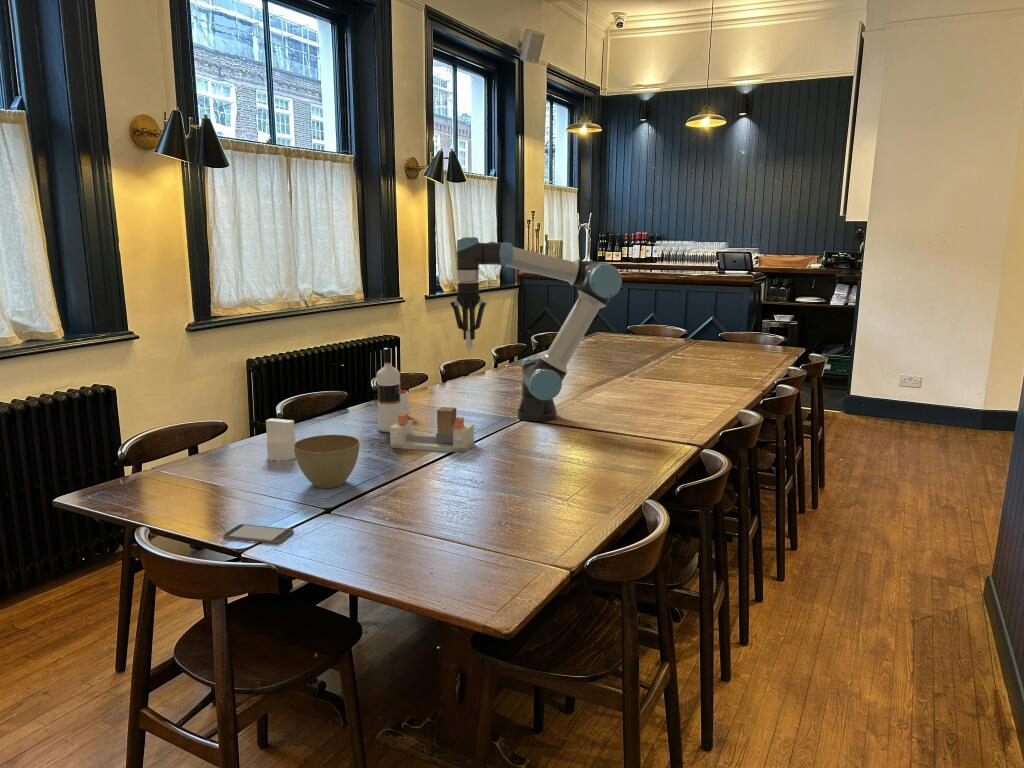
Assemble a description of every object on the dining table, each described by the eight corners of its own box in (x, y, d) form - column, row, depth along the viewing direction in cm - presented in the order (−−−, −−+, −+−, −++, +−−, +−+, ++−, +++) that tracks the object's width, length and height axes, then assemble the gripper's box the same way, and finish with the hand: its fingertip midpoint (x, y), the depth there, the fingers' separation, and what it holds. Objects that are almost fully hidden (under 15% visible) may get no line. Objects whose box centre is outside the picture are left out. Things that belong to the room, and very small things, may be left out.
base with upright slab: (302, 454, 238) (300, 418, 235) (285, 462, 230) (283, 425, 227) (279, 451, 241) (276, 416, 238) (261, 459, 232) (258, 422, 230)
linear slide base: (474, 444, 247) (473, 415, 245) (464, 453, 238) (464, 423, 236) (402, 439, 254) (401, 411, 252) (390, 447, 244) (389, 418, 242)
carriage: (458, 439, 246) (457, 407, 244) (453, 443, 241) (452, 411, 239) (441, 438, 247) (440, 406, 245) (436, 442, 242) (435, 410, 240)
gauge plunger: (408, 421, 248) (407, 413, 248) (403, 424, 245) (403, 416, 244) (402, 421, 249) (402, 412, 248) (397, 424, 245) (397, 415, 244)
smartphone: (278, 541, 169) (221, 535, 173) (278, 546, 169) (221, 540, 173) (295, 529, 176) (240, 523, 180) (295, 533, 176) (240, 527, 180)
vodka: (375, 427, 269) (372, 346, 263) (400, 425, 272) (397, 345, 266) (380, 434, 260) (376, 350, 254) (405, 431, 264) (402, 349, 257)
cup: (404, 421, 278) (403, 395, 276) (379, 420, 280) (377, 394, 278) (412, 415, 287) (411, 390, 285) (388, 413, 289) (387, 389, 287)
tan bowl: (328, 499, 198) (326, 456, 195) (282, 487, 207) (279, 446, 204) (374, 480, 212) (372, 439, 210) (329, 469, 222) (327, 431, 219)
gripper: (489, 281, 258) (489, 347, 263) (453, 281, 261) (455, 346, 266) (483, 283, 251) (484, 351, 256) (447, 282, 254) (448, 349, 259)
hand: (469, 348), depth 261 cm, fingers closed
